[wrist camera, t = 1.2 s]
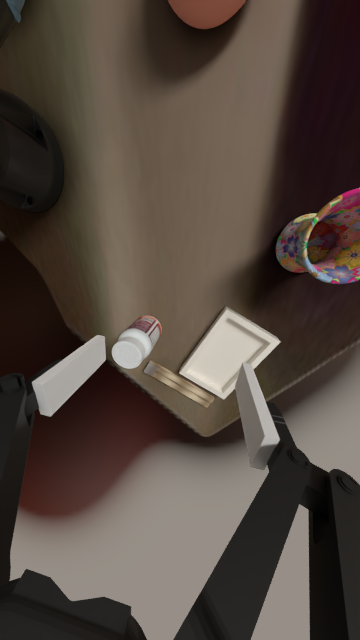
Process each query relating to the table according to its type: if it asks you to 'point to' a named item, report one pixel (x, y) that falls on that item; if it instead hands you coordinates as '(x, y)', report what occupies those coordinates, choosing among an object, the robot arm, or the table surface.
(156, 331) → the pill bottle
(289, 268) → the mug
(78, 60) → the table surface
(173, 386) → the tongs
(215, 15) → the pink teapot
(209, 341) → the tray
